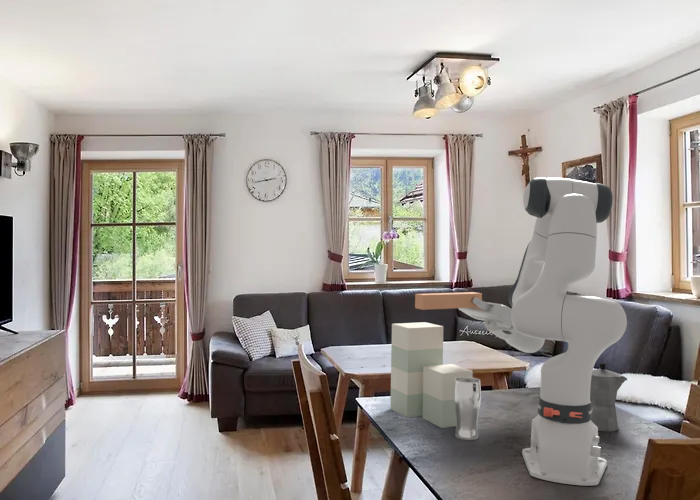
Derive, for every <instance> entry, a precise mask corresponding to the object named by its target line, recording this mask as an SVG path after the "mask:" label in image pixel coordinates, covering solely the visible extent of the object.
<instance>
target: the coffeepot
mask: <svg viewBox="0 0 700 500" xmlns="http://www.w3.org/2000/svg"><path fill="white" fill-rule="evenodd" d="M625 381H628V377H626V376H624V375H620V373H618V372H615V371H612V370H608V369H606V363H605V362H600V363H599V368H598V369H597V368H596V369H593V371H592V377H591V387H590V402H591V403H592V419H591V421H592V422H593V423H594V424H595V425H596V426H597V427H598V431H599V432H609V433H610V432H616V431H618V430H619V423H618V416H617V410H616V400H617V394H618V391H619V389H620V388H621V386H622V385H623V384H624V382H625Z"/></svg>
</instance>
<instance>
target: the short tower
mask: <svg viewBox="0 0 700 500" xmlns="http://www.w3.org/2000/svg"><path fill="white" fill-rule="evenodd" d="M473 372H474V371H473V370H471V369H468V368H465V367H462V366H459V365H457V364H454V363H447V364H443V365H435V366H423V416H422V419H423V420H426V421H427V422H429V423H432V424H434V425H435V426H437V427H439V428H441V429H444V428H451V427H456V425H457V419H456V412H455V405H454V386H455V378H458V377H472V378H474V373H473Z"/></svg>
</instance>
